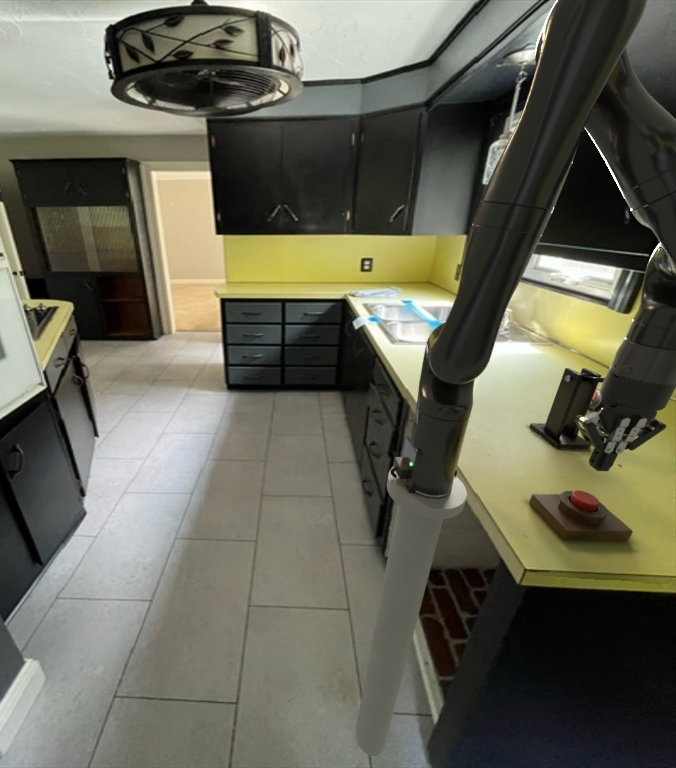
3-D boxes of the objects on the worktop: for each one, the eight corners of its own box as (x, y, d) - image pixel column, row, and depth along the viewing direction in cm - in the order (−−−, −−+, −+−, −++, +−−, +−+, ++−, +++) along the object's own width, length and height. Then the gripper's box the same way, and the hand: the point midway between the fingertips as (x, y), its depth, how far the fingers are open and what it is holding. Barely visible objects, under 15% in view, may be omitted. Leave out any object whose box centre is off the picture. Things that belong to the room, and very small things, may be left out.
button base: (563, 540, 61) (571, 522, 59) (528, 502, 69) (535, 486, 67) (628, 540, 61) (638, 522, 59) (586, 503, 69) (593, 486, 68)
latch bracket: (589, 448, 86) (619, 380, 79) (556, 448, 86) (582, 379, 79) (559, 427, 95) (583, 364, 88) (529, 427, 95) (550, 363, 88)
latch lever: (638, 390, 73) (639, 372, 72) (620, 390, 73) (621, 372, 72) (582, 386, 86) (583, 370, 85) (567, 385, 86) (568, 370, 85)
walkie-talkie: (575, 391, 116) (568, 413, 102) (580, 379, 114) (574, 399, 100) (611, 400, 110) (609, 424, 97) (617, 386, 109) (615, 409, 95)
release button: (580, 512, 62) (583, 504, 61) (564, 497, 65) (567, 490, 64) (601, 512, 62) (604, 504, 61) (584, 498, 65) (588, 490, 64)
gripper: (663, 364, 57) (617, 455, 64) (579, 362, 57) (543, 454, 64) (716, 383, 50) (658, 484, 57) (621, 381, 50) (575, 482, 57)
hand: (597, 468), depth 60 cm, fingers closed
